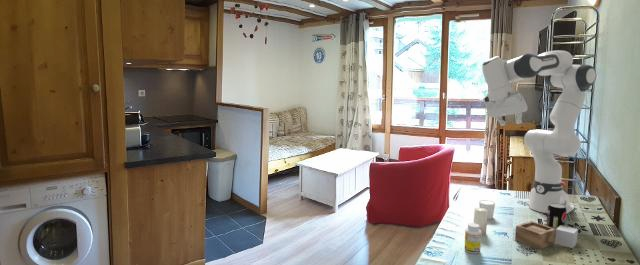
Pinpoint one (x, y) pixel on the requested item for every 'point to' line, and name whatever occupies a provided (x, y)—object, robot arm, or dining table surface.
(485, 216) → the white pillar candle
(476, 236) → the supplement bottle
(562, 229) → the grey block
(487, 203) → the shot glass
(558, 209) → the beverage can
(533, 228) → the brown wooden open box
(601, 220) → the dining table surface
